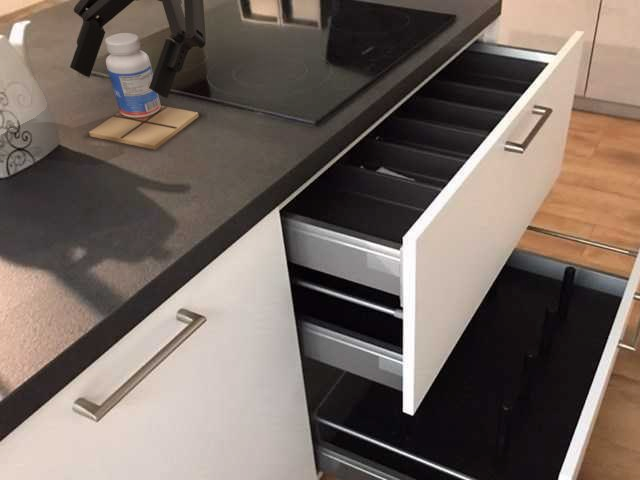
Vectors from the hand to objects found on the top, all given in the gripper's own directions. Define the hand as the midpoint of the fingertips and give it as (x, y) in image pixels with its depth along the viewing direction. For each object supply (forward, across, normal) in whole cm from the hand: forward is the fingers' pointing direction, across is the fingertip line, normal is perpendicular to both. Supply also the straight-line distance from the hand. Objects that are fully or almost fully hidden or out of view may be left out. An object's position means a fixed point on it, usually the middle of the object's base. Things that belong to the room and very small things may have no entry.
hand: (117, 82), depth 85 cm
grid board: (+4, -3, -4) cm, 7 cm away
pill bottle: (+2, 0, -5) cm, 5 cm away
